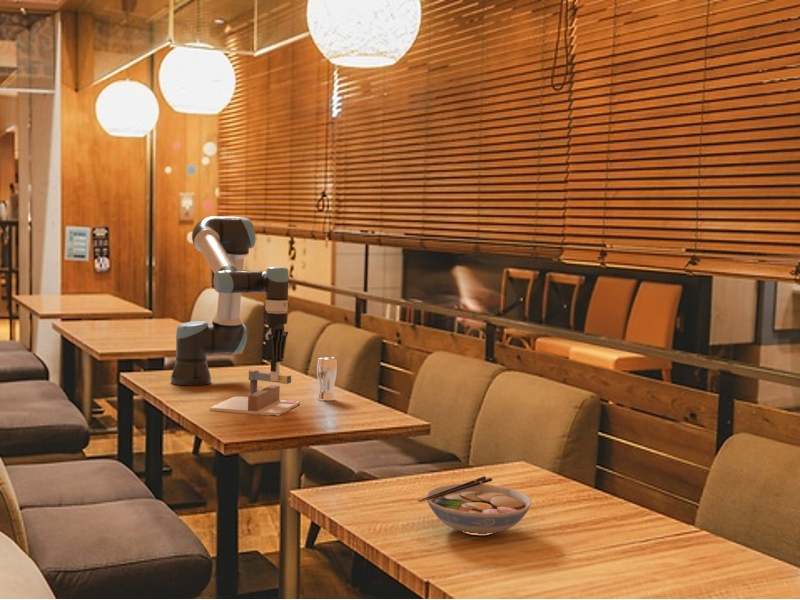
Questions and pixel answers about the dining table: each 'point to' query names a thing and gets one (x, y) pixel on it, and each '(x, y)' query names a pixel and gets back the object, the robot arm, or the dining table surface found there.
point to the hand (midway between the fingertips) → (274, 380)
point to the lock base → (243, 406)
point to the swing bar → (268, 377)
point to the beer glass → (326, 377)
